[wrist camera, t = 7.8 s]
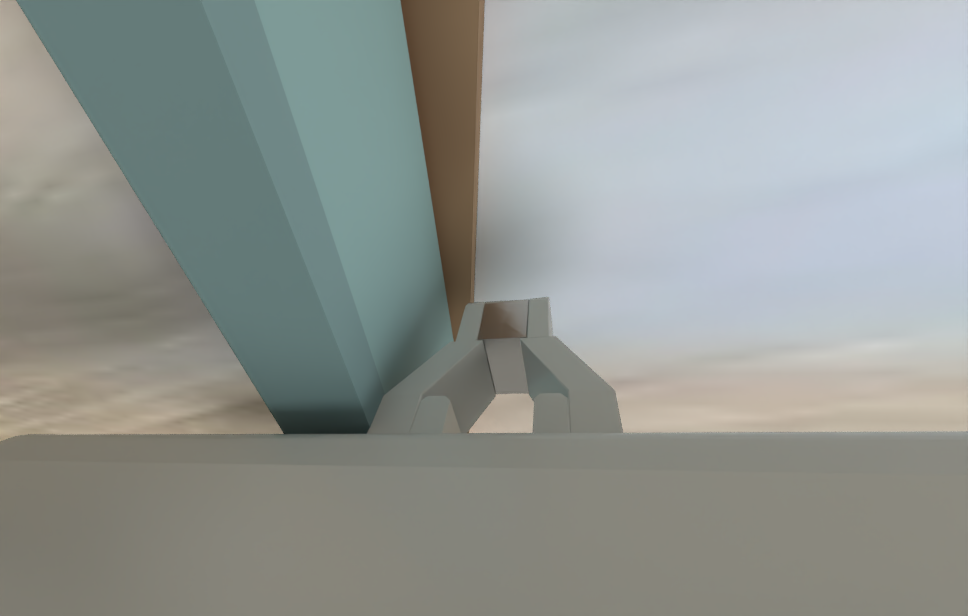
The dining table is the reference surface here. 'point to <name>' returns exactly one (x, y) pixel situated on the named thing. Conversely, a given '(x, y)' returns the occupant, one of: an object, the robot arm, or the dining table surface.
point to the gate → (275, 181)
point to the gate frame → (450, 129)
